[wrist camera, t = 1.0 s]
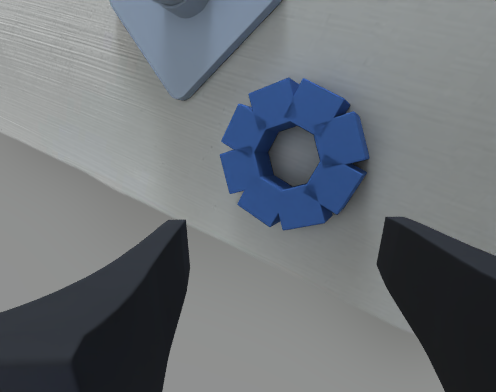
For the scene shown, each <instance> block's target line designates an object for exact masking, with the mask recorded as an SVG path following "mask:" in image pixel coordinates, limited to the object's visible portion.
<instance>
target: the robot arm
mask: <svg viewBox="0 0 496 392" xmlns="http://www.w3.org/2000/svg"><path fill="white" fill-rule="evenodd" d="M377 266H378V269H379V271H380V274H381V276H382V279H383V281H384V283H385V285H386V287H387V289H388V291H389V293H390V294H391V296H392V298H393V299H394V301H395V302H396V304H397V306H398V307H399V309H400V311H401V312H402V314H403V315H404V317H405V319H406V320H407V322H408V323H409V325H410V327H411V328H412V330H413V331H414V333H415V335H416V336H417V338H418V339H419V341H420V343H421V344H422V346H423V348H424V350H425V352H426V353H427V355H428V357H429V359H430V361H431V363H432V365H433V367H434V369H435V372H436V374H437V376H438V378H439V380H440V382H441V384H442V386H443V388H444V391H445V392H496V256H494V255H492V254H489V253H487V252H484V251H482V250H480V249H477V248H475V247H472V246H470V245H468V244H465V243H463V242H461V241H458V240H456V239H454V238H452V237H450V236H447V235H445V234H443V233H441V232H439V231H436V230H434V229H432V228H430V227H427V226H425V225H423V224H421V223H418V222H416V221H413V220H411V219H408V218H405V217H386V218H385V223H384V228H383V234H382V239H381V244H380V249H379V254H378V260H377ZM189 271H190V263H189V250H188V239H187V228H186V220H168V221H166V222H165V223H164V224H162V225H161V226H160V227H159V228H158V229H156V230H155V231H154V232H153V233H151V234H150V235H149V236H148V237H146V238H145V239H144V240H143V241H141V242H140V243H139V244H137V245H136V246H135V247H134V248H132V249H130V250H129V251H128V252H126V253H125V254H123V255H122V256H121V257H119V258H118V259H116V260H115V261H113V262H112V263H110V264H108V265H107V266H105V267H104V268H102V269H100V270H98V271H97V272H95V273H93V274H91V275H89V276H88V277H86V278H84V279H82V280H79V281H77V282H75V283H73V284H71V285H69V286H67V287H65V288H63V289H61V290H59V291H56V292H54V293H52V294H49V295H47V296H44V297H42V298H40V299H37V300H34V301H32V302H29V303H27V304H24V305H21V306H19V307H16V308H13V309H10V310H7V311H4V312H1V313H0V392H162V390H163V384H164V378H165V372H166V367H167V361H168V357H169V353H170V348H171V345H172V341H173V338H174V334H175V330H176V327H177V324H178V320H179V317H180V313H181V310H182V306H183V303H184V299H185V295H186V292H187V285H188V278H189Z"/></svg>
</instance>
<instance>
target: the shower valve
mask: <svg viewBox="0 0 496 392" xmlns="http://www.w3.org/2000/svg"><path fill="white" fill-rule="evenodd" d="M109 1H110V4H111V6H112V8H113V10H114V11H115V13H116V14H117V16H118V17H119V19H120V20H121V22H122V23H123V25H124V26H125V28H126V29H127V31H128V32H129V34H130V35H131V37H132V38H133V40H134V41H135V43H136V44H137V46H138V47H139V49H140V50H141V52H142V53H143V55H144V57H145V58H146V60H147V61H148V63H149V64H150V66H151V67H152V69H153V70H154V72H155V73H156V75H157V76H158V78H159V79H160V81H161V82H162V84H163V85H164V87H165V88H166V90H167V91H168V93H169V94H170V95H171V96H172V97H173V98H175V99H179V100H186V99H188V98H190V97H191V96H192V95H193V94H194V93H195V92H196V91H197V90H198V88H199V87H200V86H201V85H202V84H203V83H204V82H205V81H206V80H207V79H208V78H209V77H210V76H211V75H212V74H213V73H214V72H215V71H216V70H217V68H218V67H219V66H220V65H221V64H222V63H223V62H224V61H225V60H226V59H227V58H228V57H229V56H230V55H231V54H232V53H233V52H234V51H235V50H236V49H237V47H238V46H239V45H240V44H241V43H242V42H243V41H244V40H245V39H246V38H247V37H248V36H249V35H250V34H251V33H252V32H253V31H254V30H255V29H256V28H257V26H258V25H259V24H260V23H261V22H262V21H263V20H264V19H265V18H266V17H267V16H268V15H269V14H270V13H271V12H272V11H273V10H274V9H275V8H276V7H277V5H278V4H279V3H280V2H281V1H282V0H109Z"/></svg>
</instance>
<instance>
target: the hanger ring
mask: <svg viewBox="0 0 496 392" xmlns="http://www.w3.org/2000/svg"><path fill="white" fill-rule="evenodd" d="M249 98H250V102H251V106H252V107H249V106H246V105H243V104H238V106H237V108H236V111H235V113H234V115H233V117H232V119H231V121H230V123H229V125H228V128H227V130H226V132H225V134H224V136H223V138H222V140H221V142H223V143H224V144H226V145H227V146H229V147H230V148H232V149H234V150H232V151H229V152H225V153H222V154H220V158H221V162H222V166H223V170H224V174H225V178H226V181H227V185H228V189H229V193H230V194H232V193H236V192H240V191H244V192H243V194H242V196H241V198H240V200H239V202H238V205H239V206H240V207H242V208H243V209H244V210H246V211H247V212H249V213H250V214H252V215H253V216H254V217H256V218H257V219H259V220H260V221H262V222H263V223H265V224H266V225H267V226H269V227H271V226H273V225H275V224H276V223H278V222H280V221H281V225H282V229H283V230H289V229H295V228H300V227H306V226H311V225H317V224H323V223H325V222H326V221H327V220H328V219H329V218H330V217H331V216H332V212H333V213H335V214H336V215H338V214H339V213H340V212H341V211H342V209H343V208H344V207H345V206H346V204H347V203H348V201H349V200H350V198H351V197H352V195H353V193H354V192H355V190H356V189H357V187H358V186H359V184H360V183H361V181H362V180H363V178H364V177H365V175H366V174H367V172H366V171H364V170H362V169H361V168H359V167H357V166H355V165H354V164H352V163H355V162H359V161H363V160H367V159H369V153H368V149H367V145H366V141H365V137H364V133H363V129H362V125H361V121H360V117H359V115H357V114H356V113H355V112H350V113H347V114H345V113H346V112H347V110H348V108H349V107H350V104H349V103H348V102H347V101H346V100H345V99H344V98H342V97H340V96H338V95H336V94H334V93H332V92H330V91H328V90H326V89H324V88H322V87H320V86H318V85H316V84H314V83H312V82H310V81H309V80H307V79H305V78H303V79H302V81H301V83H300V85H299V84H298V83H296V82H295V81H293V80H292V79H290V78H286V79H284V80H281V81H279V82H276V83H274V84H271V85H269V86H266V87H264V88H262V89H259V90H257V91H254V92H252V93H249ZM295 126H299V127H301V128H303V129H305V130H307V131H308V132H310V133H312V134H314V138H315V142H316V146H317V150H318V154H319V158H320V162H319V164H318V166H317V167H316V169H315V171H314V172H313V174H312V176H311V178H310V179H309V181H308V183H307V184H302V185H298V186H294V187H292V186H291V185H289V184H287V183H286V182H284V181H283V180H281V179H279V178H278V177H276V176H275V175H274V174H273V170H272V166H271V162H270V158H269V154H268V151H269V149H270V148H271V146H272V144H273V142H274V140H275V138H276V136H277V134H278V132H280V131H283V130H286V129H289V128H292V127H295Z"/></svg>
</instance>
